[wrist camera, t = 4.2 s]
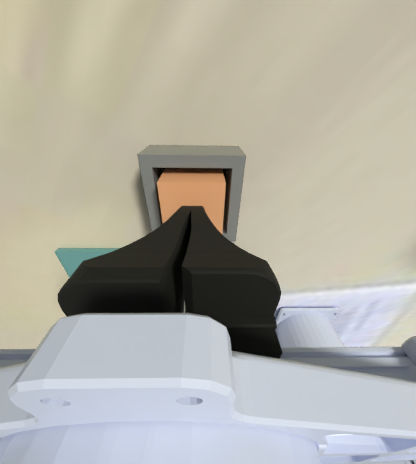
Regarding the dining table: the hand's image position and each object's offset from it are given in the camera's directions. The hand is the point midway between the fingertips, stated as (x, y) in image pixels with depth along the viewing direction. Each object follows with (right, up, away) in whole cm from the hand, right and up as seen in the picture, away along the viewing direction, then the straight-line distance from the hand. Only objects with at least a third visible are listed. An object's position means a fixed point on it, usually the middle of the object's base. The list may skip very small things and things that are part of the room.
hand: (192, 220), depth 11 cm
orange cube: (0, +3, +4) cm, 5 cm away
